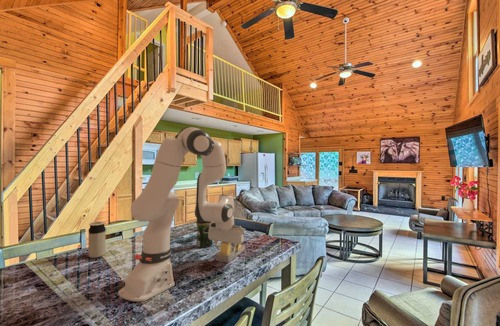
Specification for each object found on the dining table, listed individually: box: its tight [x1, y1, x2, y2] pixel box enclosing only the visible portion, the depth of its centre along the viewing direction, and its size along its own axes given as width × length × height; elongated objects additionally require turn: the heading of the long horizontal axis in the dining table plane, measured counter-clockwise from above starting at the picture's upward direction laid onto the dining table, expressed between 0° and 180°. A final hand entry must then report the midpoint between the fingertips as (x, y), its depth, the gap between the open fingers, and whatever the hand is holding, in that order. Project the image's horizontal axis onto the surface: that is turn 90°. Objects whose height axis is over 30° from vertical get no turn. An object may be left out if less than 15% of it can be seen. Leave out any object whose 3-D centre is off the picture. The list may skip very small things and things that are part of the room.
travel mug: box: [88, 220, 107, 259], centre depth 135 cm, size 8×8×18 cm
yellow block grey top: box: [219, 241, 232, 255], centre depth 132 cm, size 4×4×7 cm
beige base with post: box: [215, 243, 246, 264], centre depth 138 cm, size 22×8×9 cm, turn 158°
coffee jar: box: [195, 218, 213, 249], centre depth 152 cm, size 10×8×19 cm
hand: (225, 249), depth 132 cm, fingers open, 8 cm apart
